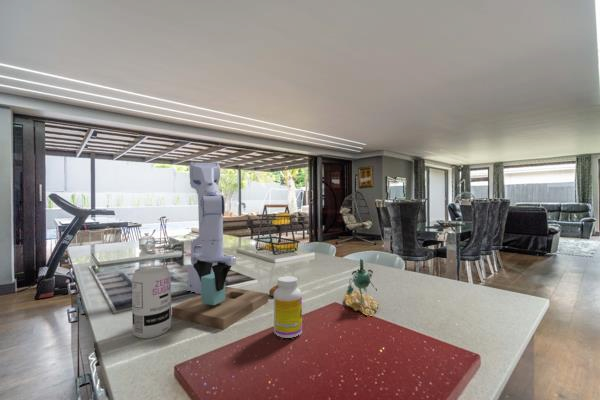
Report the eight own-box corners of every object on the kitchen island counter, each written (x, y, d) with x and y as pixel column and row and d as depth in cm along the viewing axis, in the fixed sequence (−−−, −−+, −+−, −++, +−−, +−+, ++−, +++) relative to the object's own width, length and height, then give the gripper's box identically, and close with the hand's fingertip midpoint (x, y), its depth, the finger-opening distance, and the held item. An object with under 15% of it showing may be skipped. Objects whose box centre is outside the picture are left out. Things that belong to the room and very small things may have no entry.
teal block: (201, 302, 78) (200, 277, 77) (213, 297, 82) (212, 273, 81) (214, 305, 76) (213, 279, 75) (225, 299, 80) (225, 274, 80)
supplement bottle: (305, 338, 64) (304, 281, 64) (275, 341, 63) (275, 284, 63) (298, 325, 71) (298, 274, 71) (272, 328, 70) (271, 275, 69)
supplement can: (142, 324, 72) (141, 265, 72) (176, 323, 73) (175, 264, 73) (125, 340, 64) (124, 274, 64) (163, 338, 65) (162, 273, 65)
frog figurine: (368, 294, 94) (370, 250, 92) (387, 324, 76) (389, 271, 74) (339, 294, 93) (340, 250, 91) (351, 325, 75) (353, 271, 74)
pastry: (277, 300, 89) (277, 288, 89) (264, 295, 94) (264, 283, 94) (299, 293, 95) (299, 281, 95) (286, 288, 100) (285, 277, 100)
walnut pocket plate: (171, 316, 77) (171, 307, 77) (222, 293, 95) (222, 285, 95) (223, 329, 69) (223, 319, 69) (268, 301, 87) (268, 293, 87)
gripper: (181, 240, 78) (182, 289, 78) (222, 243, 71) (223, 297, 72) (200, 236, 84) (201, 282, 84) (240, 239, 78) (241, 289, 78)
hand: (212, 288), depth 78 cm, fingers closed on teal block, 4 cm apart
